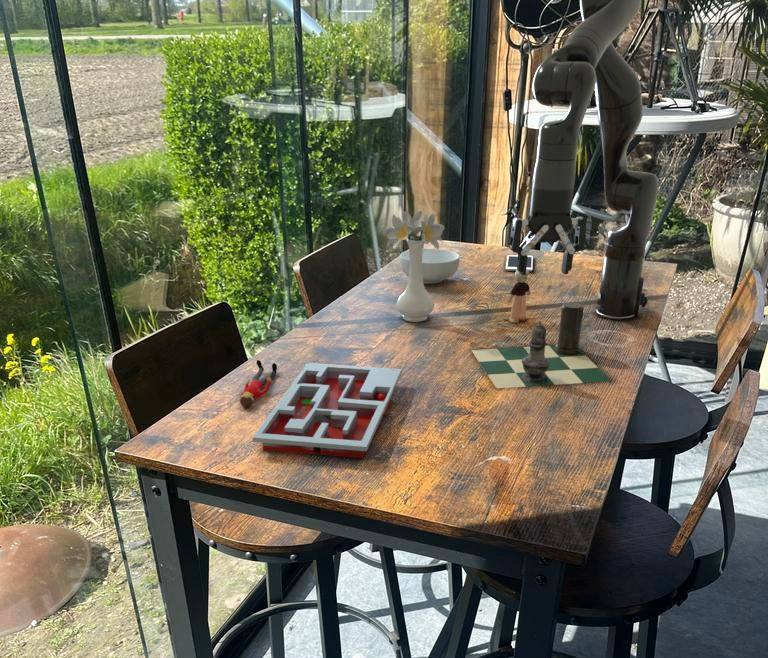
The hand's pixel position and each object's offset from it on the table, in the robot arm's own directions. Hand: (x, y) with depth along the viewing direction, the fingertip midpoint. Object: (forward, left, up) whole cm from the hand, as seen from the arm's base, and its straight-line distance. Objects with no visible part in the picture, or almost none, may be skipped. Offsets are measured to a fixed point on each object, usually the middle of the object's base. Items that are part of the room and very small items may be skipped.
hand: (543, 273), depth 156 cm
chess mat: (-2, -4, -21) cm, 21 cm away
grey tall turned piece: (+1, +3, -21) cm, 21 cm away
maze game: (+43, +14, -21) cm, 50 cm away
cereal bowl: (+8, -72, -21) cm, 76 cm away
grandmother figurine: (-7, -34, -21) cm, 41 cm away
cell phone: (-22, -84, -21) cm, 90 cm away
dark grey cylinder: (-11, -11, -21) cm, 26 cm away
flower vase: (+18, -40, -21) cm, 49 cm away
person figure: (+57, 0, -21) cm, 61 cm away
